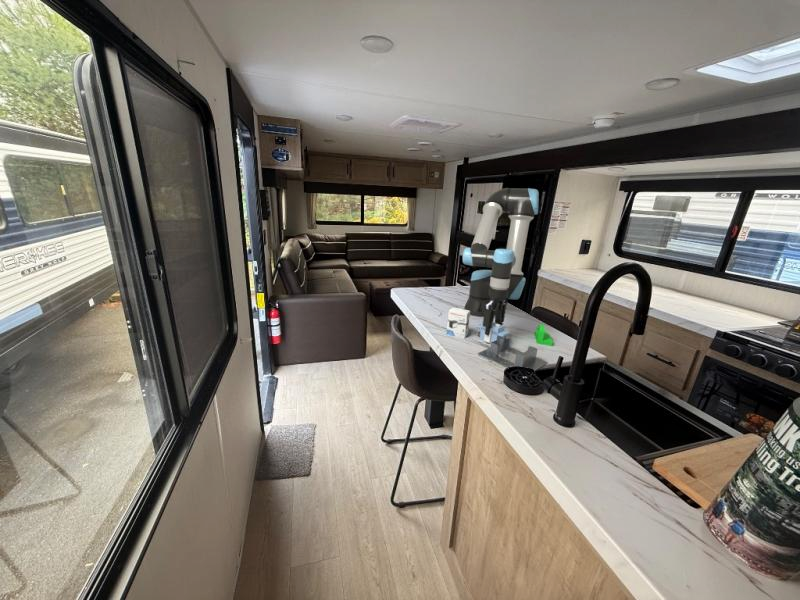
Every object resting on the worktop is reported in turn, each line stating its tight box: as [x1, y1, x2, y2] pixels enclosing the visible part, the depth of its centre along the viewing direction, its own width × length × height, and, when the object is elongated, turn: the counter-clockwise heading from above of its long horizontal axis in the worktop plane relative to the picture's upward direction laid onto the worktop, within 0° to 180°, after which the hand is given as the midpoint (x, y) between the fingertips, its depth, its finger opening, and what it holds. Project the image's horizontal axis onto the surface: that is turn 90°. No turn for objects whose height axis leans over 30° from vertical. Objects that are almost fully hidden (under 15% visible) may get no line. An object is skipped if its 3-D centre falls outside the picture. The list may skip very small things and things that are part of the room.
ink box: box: [445, 306, 471, 340], centre depth 135 cm, size 8×5×12 cm, turn 62°
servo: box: [476, 321, 510, 345], centre depth 131 cm, size 5×13×9 cm, turn 41°
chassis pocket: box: [477, 336, 548, 372], centre depth 117 cm, size 16×20×6 cm
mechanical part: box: [533, 324, 554, 347], centre depth 136 cm, size 12×6×8 cm, turn 162°
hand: (490, 339), depth 132 cm, fingers closed on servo, 5 cm apart
